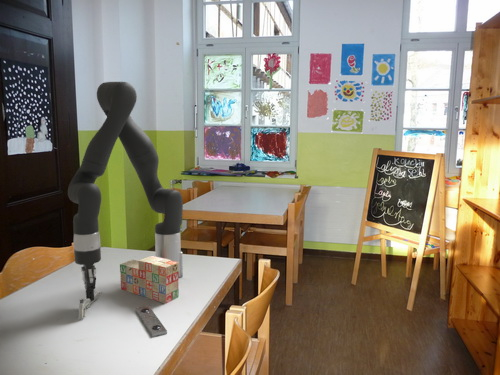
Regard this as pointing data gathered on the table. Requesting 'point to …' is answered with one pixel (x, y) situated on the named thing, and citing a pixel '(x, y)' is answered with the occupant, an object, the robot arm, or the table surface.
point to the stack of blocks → (151, 278)
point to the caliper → (86, 305)
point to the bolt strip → (151, 321)
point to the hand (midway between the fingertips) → (90, 300)
